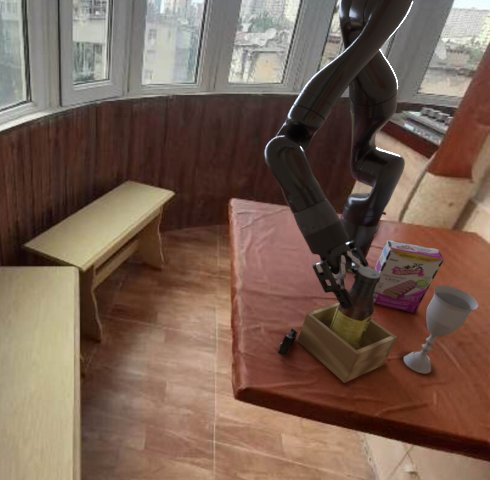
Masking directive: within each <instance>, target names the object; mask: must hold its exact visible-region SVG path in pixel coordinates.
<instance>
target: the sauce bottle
mask: <svg viewBox="0 0 490 480" xmlns="http://www.w3.org/2000/svg"><path fill="white" fill-rule="evenodd" d="M380 277H381V276H380V273H379V272H377V271H376V270H374V268H371V267H369V266H366V267H360V268H358V270H357V272H356V278H354V281H353V284H352V285H351V288H349V289H347V291H348V293H349V295H350V297H351V299H352V301H353V303H354V306H353V307H352V308H348V309H343V308H342V307H341V305H340V303H339V305H338V307H337V309H336V312H335V315H334V318H333V321H332V323H331V326H330V329H331V330H332V331H333V332H334V333H336V334H337V335H338V336H339V337H341V338H342V339H343V340H344V341H345V342H347V343H348V344H349V345H350V346H352V347H353V348H354V349H355V350H358V348H359V346H360V343H361V341H362V339H363V336H364V334H365V331H366V329H367V327H368V324H369V322H370V319H372V317H373V314H374V312H375V304H374V297H373V293H374V290H375V287H376V285H377V283H378V282H379V280H380Z"/></svg>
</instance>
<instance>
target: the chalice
mask: <svg viewBox="0 0 490 480" xmlns="http://www.w3.org/2000/svg"><path fill="white" fill-rule="evenodd" d="M477 308H479V303H478V302H477V300H476V299H475V298H474V297H473V296H472V295H471V294H469V293H467V292H465V291H464V290H461V289H460V288H457V287H454V286H449V285H443V284H441V285H436V286H435V287H434V288H433V297H432V298H431V300H430V301H429V303H428V306H427V308H426V311H425V312H426V313H425V321H426V329H427V331H428V333H430V334H429V336H428V337H426V338H425V340H426V341H425V343H422V344H421V347H422V348H421V351H419V350H418V351H417V350H416V351H415V350H414V351H411V352H410V353H408V354H406V355H404V356H403V362H404V364H405V365H406V366H407V367H408V368H409V369H411V370H412V371H415V372H416V373H420V374H424V375H425V374H430V373H431V372H432V361H431V358H430V357H429V355H428V354H427V353H428V352H430V351H432V350H433V348H432V345H434V344H436V338H437V337H438V338H444V337H445V336H447V335H449V334H452V333H454V332H455V331H456V330H459V329H461V327H462V326H463V325H464V324H465V322H466V320H467V319H468V317H469V316H470V314H471V312H472V311H475V310H476V309H477Z"/></svg>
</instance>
